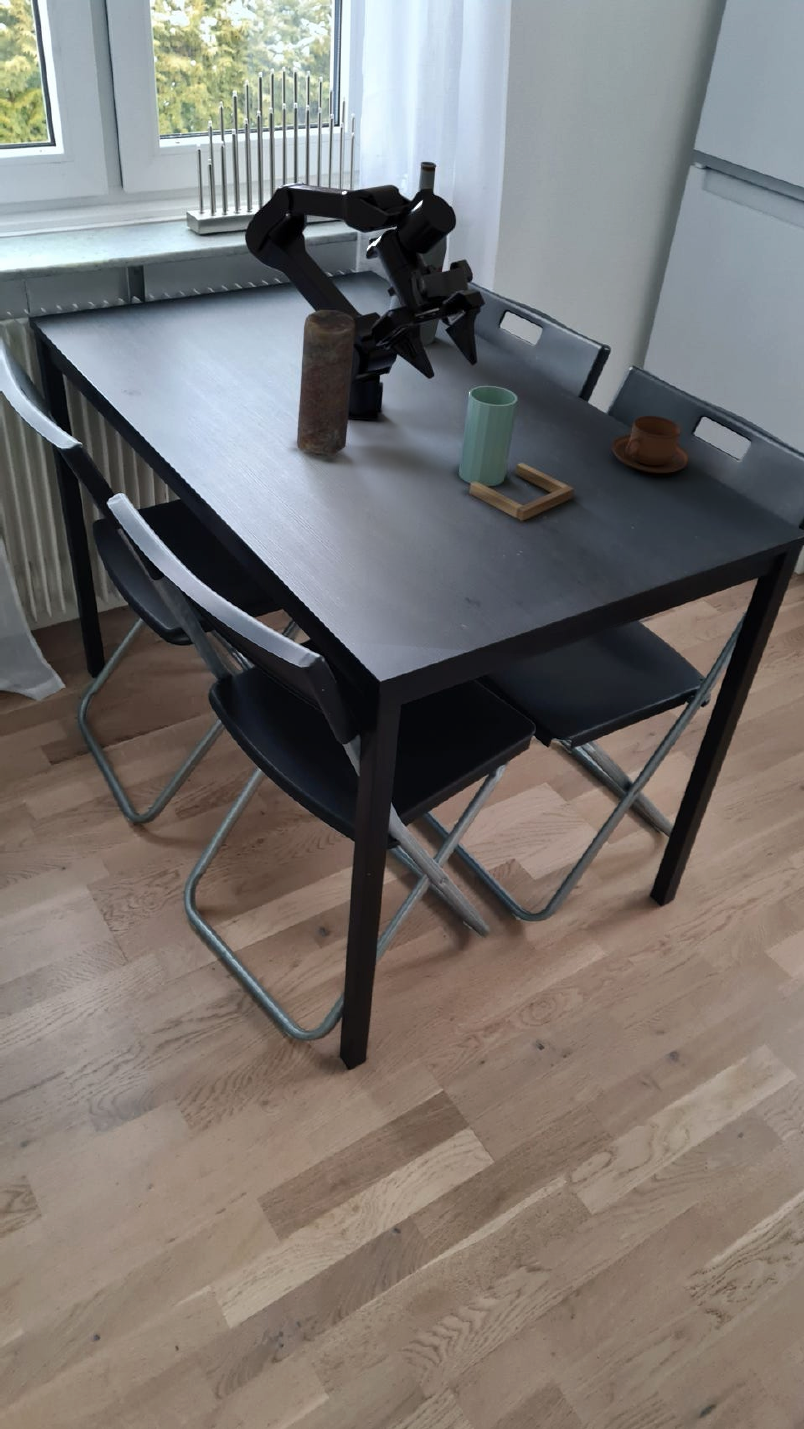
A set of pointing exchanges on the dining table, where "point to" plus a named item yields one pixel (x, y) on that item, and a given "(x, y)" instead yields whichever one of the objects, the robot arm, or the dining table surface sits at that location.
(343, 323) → the brown textured cylinder
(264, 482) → the dining table surface
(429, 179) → the bottle
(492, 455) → the glass
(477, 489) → the frame
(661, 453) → the cup and saucer
